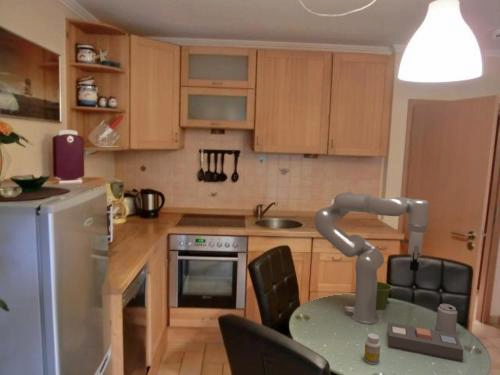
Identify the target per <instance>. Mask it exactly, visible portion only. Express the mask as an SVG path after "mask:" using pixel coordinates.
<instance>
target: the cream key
mask: <svg viewBox="0 0 500 375" xmlns="http://www.w3.org/2000/svg"><path fill="white" fill-rule="evenodd" d="M392 333H397V334H403V335H406V330H405V329H403V328H398V327H392Z"/></svg>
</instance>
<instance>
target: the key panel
mask: <svg viewBox="0 0 500 375" xmlns="http://www.w3.org/2000/svg"><path fill="white" fill-rule="evenodd" d="M392 327H398V328H403V329H405V330H406V335H403V334H397V333H392ZM416 328H418V327H416V326H411V325H406V324H405V325H404V324H399V323H395V322H388V323H387V348H389V349H395V350H399V351H404V352H408V353H414V354H419V355H424V356H429V357H432V358H433V357H435V358H438V359H444V360H449V361H453V362H458V363H463V359H464V358H463V357H464V348H463V346H462V343H461V341H460V339H459V337H458V335H457V334H456V333H455V334H451V333H445V332H440V331H437V330H433V329H428V328H426V329H427V330H430V333H431V340H429V339H424V338H419V337H416ZM421 328H422V327H421ZM422 329H424V328H422ZM440 335H442V336H448V337H453V338H455V340H456V343H457V345H456V344H451V343H446V342H442V341H441V338H440Z"/></svg>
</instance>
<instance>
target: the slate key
mask: <svg viewBox="0 0 500 375" xmlns="http://www.w3.org/2000/svg"><path fill="white" fill-rule="evenodd" d="M440 338H441V341H442V342H446V343H451V344H456V345H457V343H456V340H455V338H453V337H448V336H442V335H440Z"/></svg>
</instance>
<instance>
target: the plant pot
mask: <svg viewBox="0 0 500 375" xmlns="http://www.w3.org/2000/svg"><path fill="white" fill-rule="evenodd" d="M392 289H393V287H392V286H391V285H390V284H388V283H387V282H383V281H377V298H376V310H379V309H380V310H385V309H386V307H387V303H388V299H389V294H390V293H391V290H392Z"/></svg>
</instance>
